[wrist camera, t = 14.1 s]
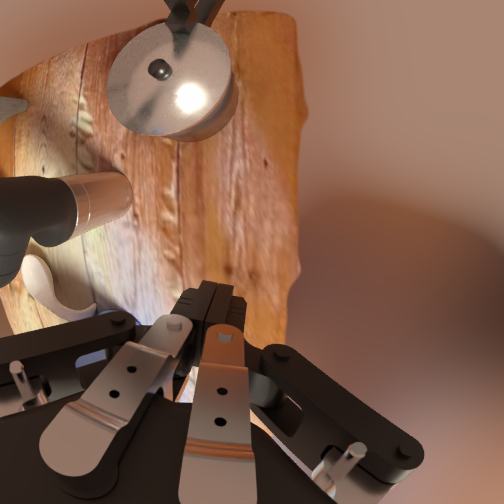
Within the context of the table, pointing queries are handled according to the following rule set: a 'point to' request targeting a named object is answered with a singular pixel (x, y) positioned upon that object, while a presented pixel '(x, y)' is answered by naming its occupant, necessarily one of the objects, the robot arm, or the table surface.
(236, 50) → the table surface
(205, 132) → the pressure cooker pot
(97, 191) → the robot arm
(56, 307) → the spoon rest
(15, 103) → the hip flask
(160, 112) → the pressure cooker lid
